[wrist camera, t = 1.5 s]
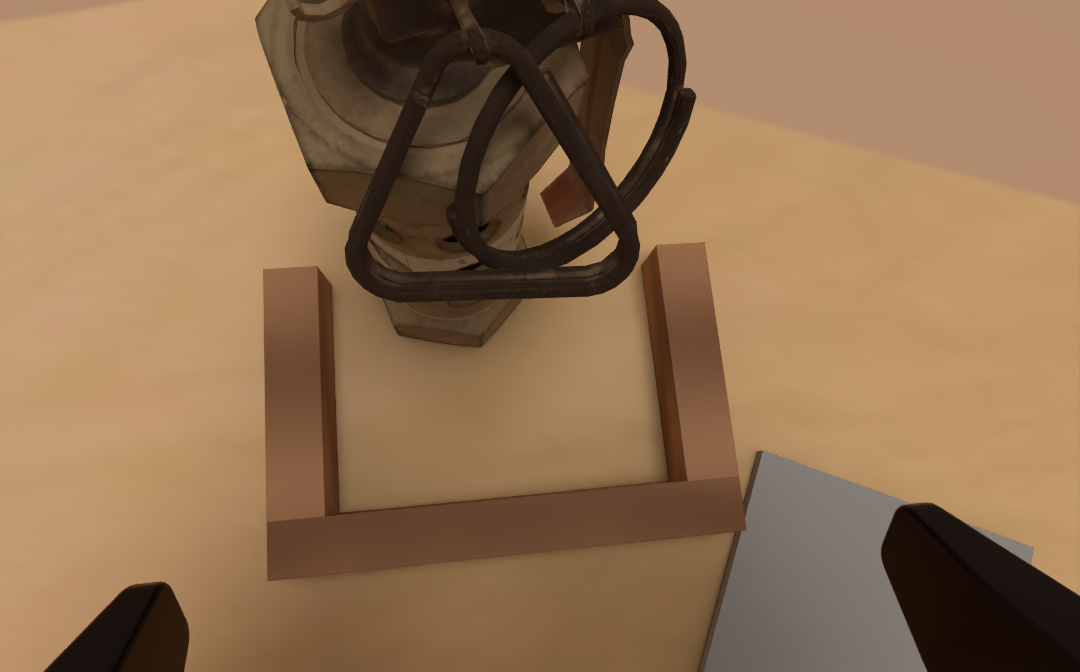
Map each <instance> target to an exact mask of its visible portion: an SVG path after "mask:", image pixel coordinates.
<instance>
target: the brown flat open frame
mask: <svg viewBox="0 0 1080 672" xmlns="http://www.w3.org/2000/svg"><path fill="white" fill-rule="evenodd" d="M641 266H642V273H643V281H644V289H645V297H646V305H647V313H648V321H649V329H650V336H651V344H652V352H653V360H654V368H655V376H656V384H657V392H658V399H659V407H660V415H661V423H662V431H663V439H664V447H665V455H666V462H667V470H668V478H669V481H666V482H656V483H646V484H635V485H625V486H615V487H604V488H594V489H584V490H574V491H563V492H553V493H543V494H532V495H522V496H512V497H502V498H491V499H481V500H471V501H460V502H450V503H440V504H429V505H419V506H409V507H399V508H388V509H378V510H368V511H357V512H347V513H339V488H338V459H337V430H336V401H335V372H334V344H333V315H332V286H331V284H330V283H329V281H328V280H327V279H326V277H325V276H324V275H323V273H322V272H321V271H320V269H319V268H318V267H317V266H312V267H295V268H279V269H263V290H264V359H265V428H266V497H267V566H268V581H274V580H283V579H292V578H302V577H311V576H321V575H330V574H340V573H349V572H359V571H368V570H378V569H387V568H396V567H406V566H415V565H425V564H434V563H444V562H453V561H463V560H472V559H481V558H491V557H500V556H510V555H519V554H529V553H538V552H548V551H557V550H567V549H576V548H585V547H595V546H604V545H614V544H623V543H633V542H642V541H652V540H661V539H671V538H680V537H689V536H699V535H708V534H718V533H727V532H737V531H746V530H747V528H746V521H745V514H744V507H743V501H742V494H741V487H740V480H739V473H738V467H737V460H736V453H735V446H734V439H733V432H732V426H731V419H730V412H729V405H728V398H727V392H726V385H725V378H724V371H723V364H722V358H721V351H720V344H719V337H718V330H717V323H716V317H715V310H714V303H713V296H712V289H711V283H710V276H709V269H708V262H707V255H706V249H705V242H700V243H684V244H668V245H656V247H655V248H654V249H653V251H652V252H651V253H650V255H649V256H648V257H647V259H646V260H645V261H644V263H643V264H642V265H641Z"/></svg>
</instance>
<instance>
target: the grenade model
mask: <svg viewBox="0 0 1080 672" xmlns="http://www.w3.org/2000/svg"><path fill="white" fill-rule="evenodd" d="M629 15H635V16H639V17H642V18H645V19H648V20H649V21H650V22H652V23H653V24H654V25H655V26H656V27H657V28H658V29H659V30H660V32H661V34H662V37H663V39H664V41H665V44H666V48H667V53H668V58H669V65H668V66H669V67H668V79H667V90H666V93H665V97H664V100H663V104H662V108H661V111H660V115H659V117H658V119H657V122H656V124H655V127H654V129H653V132H652V134H651V136H650V138H649V140H648V142H647V144H646V146H645V147H644V149H643V151H642V153H641V155H640V157H639V158H638V160H637V161H636V163H635V164H634V166H633V167H632V168H631V170H630V171H629V173H628V174H627V175H626V177H625V178H624V180H623V181H622V182H621V183H620V185H619V186H618V187H616V185H615V183H614V181H613V179H612V178H611V176H610V174H609V172H608V171H607V169H606V167H605V165H604V160H605V149H606V144H607V139H608V134H609V129H610V124H611V119H612V114H613V109H614V104H615V100H616V95H617V91H618V87H619V83H620V79H621V75H622V71H623V67H624V62H625V60H626V58H627V56H628V54H629V53H630V51H631V49H632V47H633V45H634V42H633V40H632V36H631V29H630V18H629ZM255 21H256V26H257V30H258V35H259V38H260V41H261V44H262V47H263V50H264V53H265V56H266V58H267V61H268V64H269V67H270V70H271V72H272V75H273V78H274V80H275V83H276V86H277V89H278V91H279V94H280V97H281V99H282V102H283V105H284V107H285V110H286V113H287V115H288V118H289V121H290V123H291V126H292V129H293V131H294V134H295V136H296V139H297V141H298V144H299V147H300V149H301V152H302V154H303V157H304V159H305V162H306V165H307V167H308V169H309V171H310V173H311V175H312V177H313V179H314V180H315V182H316V184H317V186H318V188H319V190H320V191H321V193H322V195H323V197H324V199H325V201H326V202H327V203H330V204H334V205H337V206H341V207H344V208H347V209H351V210H354V211H356V212H357V214H356V217H355V219H354V221H353V224H352V226H351V228H350V231H349V238H348V241H347V244H346V246H345V257H346V265H347V267H348V269H349V271H350V272H351V274H352V276H353V278H354V279H355V280H356V281H357V282H358V283H359V284H360V285H361V286H362V287H363V288H364V289H366V290H367V291H369V292H370V293H372V294H374V295H375V296H378V297H381V298H383V300H384V303H385V306H386V308H387V311H388V313H389V316H390V318H391V321H392V324H393V326H394V328H395V330H396V332H397V333H398V335H402V336H407V337H412V338H417V339H423V340H429V341H435V342H441V343H448V344H455V345H466V346H480V347H481V346H482V345H483V344H484V343H485V342H486V341H487V340H488V339H489V338H490V337H491V336H492V335H493V334H494V333H495V332H496V330H497V329H498V328H499V327H500V326H501V324H502V323H503V322H504V321H505V320H506V318H507V317H508V316H509V315H510V313H511V312H512V311H513V310H514V308H515V307H516V306H517V305H518V304H519V302H520V301H521V300H522V299H526V298H557V297H588V296H593V295H597V294H602V293H605V292H607V291H609V290H611V289H613V288H615V287H617V286H618V285H619V284H620V283H621V282H623V281H624V280H625V279H626V278H627V277H628V276H629V275H630V273H631V272H632V271H633V269H634V267H635V265H636V263H637V261H638V258H639V250H640V243H639V239H638V234H637V223H636V220H635V218H634V217H633V215H632V212H633V211H634V210H635V209H636V208H637V207H638V206H639V205H640V204H641V202H642V201H643V200H644V199H645V198H646V196H647V195H648V193H649V192H650V191H651V189H652V188H653V187H654V185H655V184H656V183H657V181H658V180H659V178H660V177H661V176H662V174H663V172H664V171H665V169H666V167H667V166H668V164H669V162H670V161H671V159H672V157H673V155H674V154H675V152H676V150H677V147H678V145H679V143H680V141H681V139H682V137H683V135H684V132H685V130H686V128H687V126H688V123H689V120H690V116H691V113H692V110H693V106H694V103H695V100H696V94H695V93H694V92H693V90H692V89H691V88H684V89H683V86H684V79H685V72H686V64H687V63H686V54H685V46H684V40H683V35H682V32H681V30H680V27H679V24H678V22H677V20H676V19H675V17H674V16H673V15H672V13H671V12H670V10H669V9H668V8H666V7H665V6H664V5H663V4H661V3H660V2H659V1H658V0H267V2H266V3H265V5H264V6H263V7H262V9H261V10H260V12H259V13H258V15H257V16H256V18H255ZM578 42H581V46H580V51H579V48H578V45H577V43H578ZM559 144H560V145H561V147H562V149H563V150H564V152H565V153H566V155H567V157H568V158H569V160H570V165H569V166H568V168H567V169H566V170H565V171H564V172H563V173H562V174H561V175H559V176H558V177H557V178H556V179H555V180H554V181H553V182H552V183H551V184H550V185H549V186H548V187H547V188H545V189H544V190H543V191H542V192H541V193H540V195H541V197H542V199H543V202H544V204H545V206H546V209H547V211H548V213H549V216H550V218H551V220H552V223H553V225H554V227H558V226H560V225H562V224H564V223H567V222H569V221H571V220H573V219H576V218H578V217H580V216H582V215H584V214H587V213H589V212H590V211H592V210H593V207H594V202H595V201H596V203H597V204H598V206H599V207H598V208H597V209H596V210H595V211H594V212H593V213H592V214H591V215H589V216H588V217H587V218H586V219H584V220H583V221H582V222H581V223H579V224H578V225H577V226H576V227H574V228H572V229H571V230H569V231H568V232H566V233H564V234H563V235H561V236H559V237H558V238H556V239H553V240H551V241H549V242H547V243H544V244H542V245H540V246H536V247H532V248H527V246H526V243H525V241H524V238H523V236H522V233H521V230H522V224H523V214H524V209H525V204H526V200H527V193H528V187H529V181H530V180H531V179H532V178H533V177H534V175H535V174H536V173H537V172H538V171H539V170H540V169H541V167H542V166H543V165H544V163H545V162H546V161H547V159H548V158H549V157H550V156H551V154H552V153H553V152H554V150H555V149H556V148H557V146H558V145H559ZM378 220H379V221H378ZM613 231H615V233H616V234H617V236H618V238H619V241H618V244H617V247H616V249H615V250H614V251H613V252H612V253H611V254H609V255H608V256H607V257H606V258H605V259H604V260H603V261H602V262H598V263H594V264H591V265H587V266H568V267H559V266H562V265H564V264H567V263H569V262H571V261H572V260H574V259H575V258H577V257H579V256H580V255H582V254H584V253H585V252H587V251H588V250H590V249H592V248H593V247H595V246H596V245H598V244H599V243H600V242H602V241H603V240H604V239H605V238H606V237H607V236H608V235H610V234H611V233H612V232H613Z"/></svg>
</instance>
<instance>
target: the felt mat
mask: <svg viewBox="0 0 1080 672" xmlns="http://www.w3.org/2000/svg"><path fill="white" fill-rule="evenodd" d="M905 504H910V503H908V502H905V501H902V500H899V499H897V498H894V497H891V496H888V495H885V494H883V493H880V492H877V491H874V490H871V489H869V488H866V487H863V486H860V485H857V484H855V483H852V482H849V481H846V480H843V479H841V478H838V477H835V476H832V475H830V474H827V473H824V472H821V471H818V470H816V469H813V468H810V467H807V466H804V465H802V464H799V463H796V462H793V461H790V460H788V459H785V458H782V457H779V456H777V455H774V454H771V453H768V452H765V451H758V453H757V457H756V461H755V464H754V468H753V472H752V476H751V479H750V483H749V487H748V490H747V494H746V498H745V502H744V505H743V507H744V514H745V521H746V528H747V530H746V531H737V532H736V535H735V539H734V542H733V546H732V550H731V553H730V557H729V561H728V565H727V568H726V572H725V576H724V579H723V583H722V587H721V591H720V594H719V598H718V602H717V605H716V609H715V613H714V616H713V620H712V624H711V628H710V631H709V635H708V639H707V642H706V646H705V650H704V654H703V657H702V661H701V665H700V668H699V672H927V670H926V668H925V666H924V663H923V661H922V659H921V656H920V654H919V652H918V649H917V647H916V644H915V642H914V639H913V637H912V635H911V632H910V630H909V627H908V625H907V622H906V620H905V618H904V615H903V613H902V610H901V608H900V605H899V603H898V601H897V598H896V596H895V593H894V591H893V588H892V586H891V584H890V581H889V579H888V576H887V574H886V571H885V569H884V566H883V563H882V559H881V546H882V543H883V540H884V537H885V535H886V532H887V530H888V527H889V525H890V522H891V520H892V517H893V515H894V512H895V511H896V509H897V508H898V507H900V506H901V505H905ZM967 525H969V524H967ZM969 526H971V527H972V528H974V529H975V530H977V531H978V532H980V533H982V534H983V535H985V536H986V537H988V538H990V539H991V540H993V541H994V542H996V543H997V544H999V545H1001V546H1002V547H1004V548H1005V549H1007V550H1008V551H1010V552H1012V553H1013V554H1015V555H1016V556H1018V557H1019V558H1021V559H1023V560H1024V561H1026V562H1027V563H1029V564H1030V565H1031V560H1032V555H1033V549H1034V548H1033V547H1030V546H1028V545H1025V544H1022V543H1019V542H1016V541H1014V540H1011V539H1008V538H1005V537H1003V536H1000V535H997V534H994V533H991V532H989V531H986V530H983V529H980V528H977V527H975V526H972V525H969Z"/></svg>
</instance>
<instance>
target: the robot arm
mask: <svg viewBox="0 0 1080 672" xmlns="http://www.w3.org/2000/svg"><path fill="white" fill-rule="evenodd" d="M881 559H882V563H883V566H884V569H885V571H886V574H887V576H888V579H889V581H890V584H891V586H892V588H893V591H894V593H895V596H896V598H897V601H898V603H899V605H900V608H901V610H902V613H903V615H904V618H905V620H906V622H907V625H908V627H909V630H910V632H911V635H912V637H913V639H914V642H915V644H916V647H917V649H918V652H919V654H920V656H921V659H922V661H923V663H924V666H925V668H926V670H927V672H1080V596H1079V595H1078V594H1076V593H1075V592H1073V591H1071V590H1070V589H1068V588H1067V587H1065V586H1064V585H1062V584H1060V583H1059V582H1057V581H1056V580H1054V579H1053V578H1051V577H1049V576H1048V575H1046V574H1045V573H1043V572H1042V571H1040V570H1038V569H1037V568H1035V567H1034V566H1032V565H1030V564H1029V563H1027V562H1026V561H1024V560H1023V559H1021V558H1019V557H1018V556H1016V555H1015V554H1013V553H1012V552H1010V551H1008V550H1007V549H1005V548H1004V547H1002V546H1001V545H999V544H997V543H996V542H994V541H993V540H991V539H990V538H988V537H986V536H985V535H983V534H982V533H980V532H978V531H977V530H975V529H974V528H972V527H971V526H969V525H967V524H966V523H964V522H963V521H961V520H960V519H958V518H956V517H955V516H953V515H952V514H950V513H949V512H947V511H945V510H944V509H942V508H941V507H939V506H937V505H935V504H932V503H915V504H905V505H901V506H900V507H898V508H897V509H896V511H895V512H894V515H893V517H892V520H891V522H890V525H889V527H888V530H887V532H886V535H885V537H884V540H883V543H882V546H881ZM188 645H189V627H188V623H187V620H186V618H185V616H184V614H183V612H182V610H181V607H180V605H179V603H178V601H177V599H176V597H175V595H174V592H173V590H172V588H171V587H170V585H168V584H167V583H165V582H152V583H143V584H135V585H131V586H129V587H127V588H126V589H124V590H123V591H122V592H121V593H119V594H118V596H117V597H116V598H115V599H114V600H113V601H112V602H111V603H110V604H109V605H108V606H107V607H106V608H105V609H104V610H103V611H102V612H101V613H100V614H99V615H98V616H97V617H96V618H95V619H94V620H93V621H92V622H91V623H90V624H89V625H88V626H87V627H86V628H85V629H84V630H83V631H82V633H81V634H80V635H79V636H78V637H77V638H76V639H75V640H74V641H73V642H72V643H71V644H70V645H69V646H68V647H67V648H66V649H65V650H64V651H63V652H62V653H61V654H60V655H59V656H58V657H57V658H56V659H55V660H54V661H53V662H52V663H51V664H50V665H49V666H48V667H47V668H46V670H45V671H44V672H184V669H185V663H186V657H187V651H188Z"/></svg>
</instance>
